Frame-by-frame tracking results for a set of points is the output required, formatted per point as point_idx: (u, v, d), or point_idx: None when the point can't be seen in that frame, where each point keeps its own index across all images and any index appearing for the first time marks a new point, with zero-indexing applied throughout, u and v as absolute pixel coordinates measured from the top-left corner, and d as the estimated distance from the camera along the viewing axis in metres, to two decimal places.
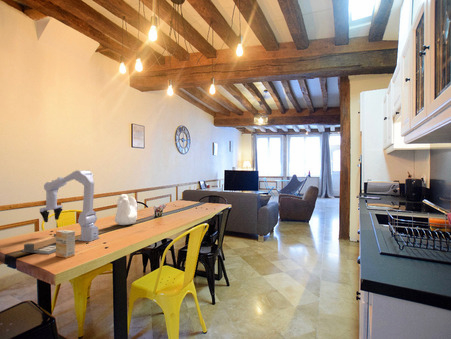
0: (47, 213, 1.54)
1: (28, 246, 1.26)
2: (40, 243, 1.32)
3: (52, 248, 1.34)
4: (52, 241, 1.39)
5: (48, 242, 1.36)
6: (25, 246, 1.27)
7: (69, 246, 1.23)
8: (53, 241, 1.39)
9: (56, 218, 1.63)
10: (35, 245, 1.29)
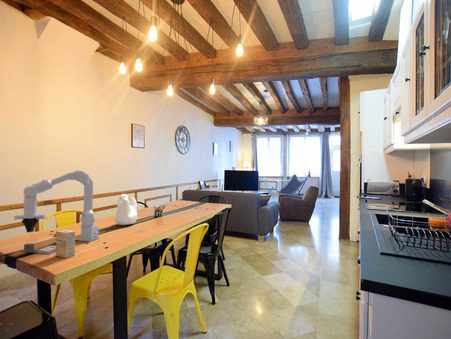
0: (24, 222, 1.32)
1: (28, 246, 1.26)
2: (40, 243, 1.32)
3: (52, 248, 1.34)
4: (52, 241, 1.39)
5: (48, 242, 1.36)
6: (25, 246, 1.27)
7: (69, 246, 1.23)
8: (53, 241, 1.39)
9: None
10: (35, 245, 1.29)
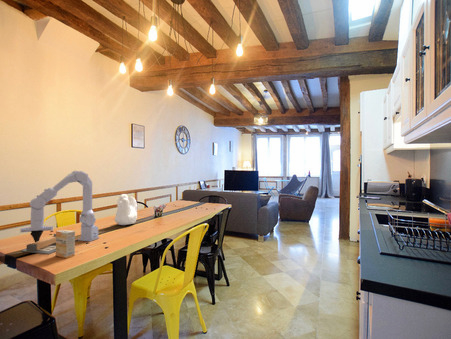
0: (33, 234, 1.31)
1: (31, 246, 1.26)
2: (42, 243, 1.32)
3: (52, 248, 1.34)
4: (53, 241, 1.39)
5: (49, 242, 1.36)
6: (28, 246, 1.26)
7: (69, 246, 1.23)
8: (54, 241, 1.40)
9: None
10: (38, 245, 1.29)
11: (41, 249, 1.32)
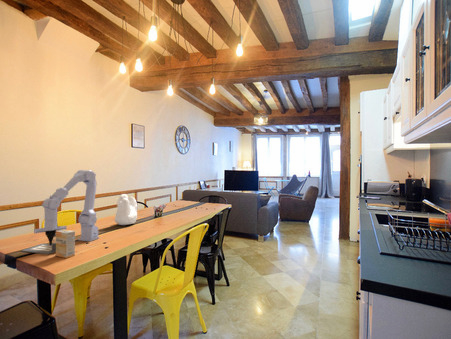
0: (48, 235, 1.31)
1: None
2: None
3: None
4: None
5: None
6: (54, 245, 1.29)
7: (69, 246, 1.23)
8: None
9: (50, 243, 1.33)
10: None
11: (41, 249, 1.32)
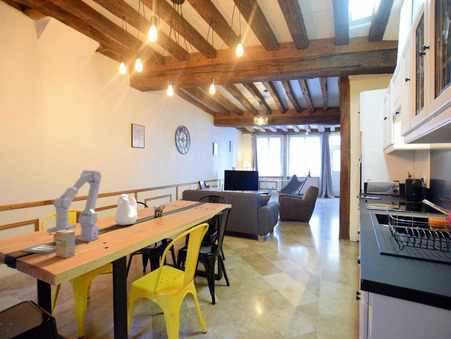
0: None
1: (77, 240, 1.37)
2: None
3: (52, 248, 1.34)
4: None
5: None
6: None
7: (69, 246, 1.23)
8: None
9: None
10: None
11: (41, 249, 1.32)
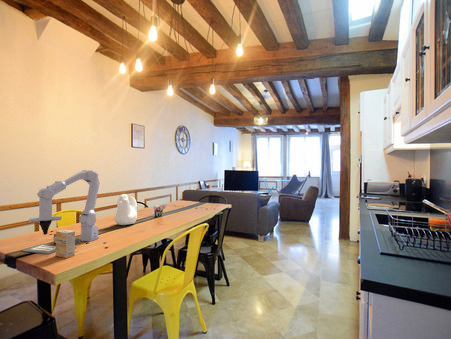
0: (41, 224, 1.32)
1: (77, 240, 1.38)
2: None
3: (52, 248, 1.34)
4: None
5: None
6: None
7: (69, 246, 1.23)
8: None
9: None
10: None
11: (41, 249, 1.32)
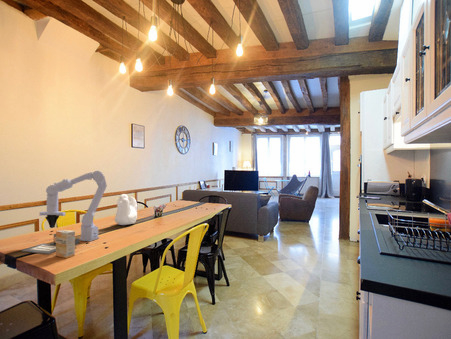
0: (47, 218, 1.42)
1: (77, 240, 1.38)
2: None
3: (52, 248, 1.34)
4: None
5: None
6: None
7: (69, 246, 1.23)
8: None
9: None
10: None
11: (41, 249, 1.32)
